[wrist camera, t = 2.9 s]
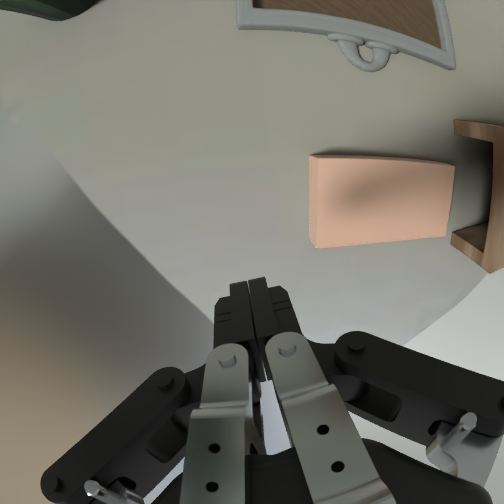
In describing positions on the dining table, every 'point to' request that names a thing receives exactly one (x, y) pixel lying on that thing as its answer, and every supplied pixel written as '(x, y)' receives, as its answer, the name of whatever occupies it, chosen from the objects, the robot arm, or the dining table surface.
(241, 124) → the dining table surface
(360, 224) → the tile
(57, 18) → the potion bottle
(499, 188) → the cubby
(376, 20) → the grey framed board
